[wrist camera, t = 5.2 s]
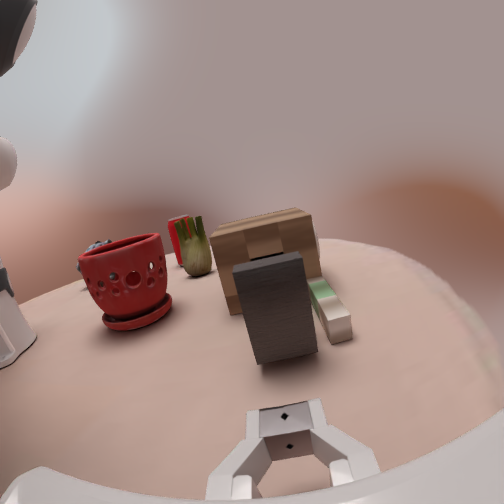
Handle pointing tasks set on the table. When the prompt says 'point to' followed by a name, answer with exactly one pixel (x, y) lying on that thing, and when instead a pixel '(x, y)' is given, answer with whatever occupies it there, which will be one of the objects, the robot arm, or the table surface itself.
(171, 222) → the beverage can
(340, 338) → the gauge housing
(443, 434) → the table surface
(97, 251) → the plant pot
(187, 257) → the fennel bulb
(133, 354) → the table surface
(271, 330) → the gray orange banded block
